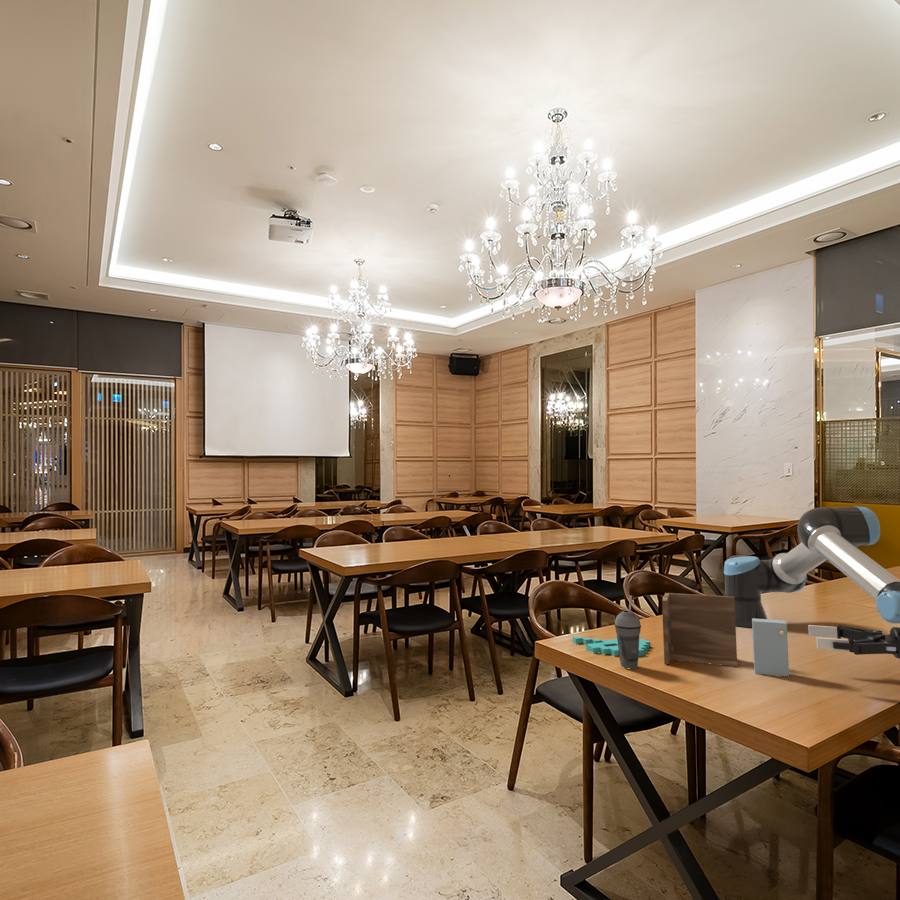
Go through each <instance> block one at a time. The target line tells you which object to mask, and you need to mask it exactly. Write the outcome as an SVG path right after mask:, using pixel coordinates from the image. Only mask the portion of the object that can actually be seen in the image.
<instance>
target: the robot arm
mask: <svg viewBox="0 0 900 900" xmlns="http://www.w3.org/2000/svg"><path fill="white" fill-rule="evenodd" d="M796 528H797V535H798V537H799V539H800V541H801V542H800V543H799V544H797V545H796V546H795V547H793V548H792V549H791V550H790V551H788V552H781V553H778V554H776V555H775V556H774V557H773V558H772V559H761V560H760V558H759V557H758V556H752V555H746V556H743V555H742V556H741V555H740V556H733V557H730V558H727V559H726V560H725V561H724V566H723V576H724V595H725V596H730V597H734V600H735V624H736V627H740V626H741V627H742V628H752V618H755V619H768V616H767V614H766V611H765V608H764V607H763V603H762V594H763V593H765V594H766V593H772V594H773V593H794V592H799V591H801V590H802V589H803V588H804V587H805V586H806V582H807V581H808V573H810V572H811V571H812V570H814V569H815V568H817V567H819V566H820V565H821V564H823V563H824V562H826V561H828V562H829V563H831V564H832V565H833V566H834V567H835V568H837V569H838V570H839V571H840V572H841V573H843V575H844V576H846V577H847V578H848V579H850V580H851V581H852V582H853V583H854V584H855V585H857V586H858V587H859V588H861V589H862V590H863V591H864V592H865V594H867V595H869V596H870V597H871V598H872V599H873V600H874V601H875V603H876V604H875V605H876V609H877V612H878V613H879V616H880V617H881V618H882V619H883V620H884V621H885V622H888V623H891V624H900V579H899V578H898V577H896V576H894V575H893V573H891V572H889V571H888V570H887V569H885V567H883V566H882V565H880V564H879V563H878V562H876V561H875V560H874V559H873V558H871V557H870V556H868V555H867V554H866V553H865V552H863V551H862V550H860V549H859V547H860V546H870V545H874V544H876V543H877V542H878V541H879V539H880V536H881V524H880V521H879V519H878V517H877V515H876V513H875V512H874V511H872V510H871V509H870V508H868V507H865V506H857V505H855V506H846V507H845V506H843V507H842V506H841V507H840V506H838V507H835V506H834V507H830V506H829V507H815V508H812V509H809V510H807V511H806V512H804V513H803V514H802V515H801V517H800V518H799V521H798V522H797V527H796ZM741 627H740V628H741ZM807 629H808V636H810V637H816V648H817V650H829V651H840V652H842V651H843V652H849V653H853V654H854V655H857V656H858V655H861V656H862V655H885V654H887V655H893V657H895V659H900V627H897V626H893V627H891V628H890V630H889V634H884V633H883V631H882V630H880V629H879V630H875V629H874V630H873V629H868V628H867V629H866V628H862V627H861V628H860V627H855V626H854V627H853V626H847V625H841V624H838V625H837V626H828V625H827V626H826V625H813V624H808V627H807Z"/></svg>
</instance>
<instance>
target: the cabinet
mask: <svg viewBox="0 0 900 900" xmlns="http://www.w3.org/2000/svg"><path fill="white" fill-rule="evenodd" d="M661 605H662V606H661V609H662V612H661V613H662V633H663V634H662V635H663V660H664V663H663V664H669V665H670V662H671V661H674V660H681V661H680V662H684V661H691V662H690V663H694V662H700V663H699V664H704V663H711V664H710V665H713V664H721V665H720V666H723V665H731V666H730V667H733V666H738V667H739V664H738V662H739V661H738V651H737V650H738V649H737V626H736V624H735V600H734V597H730V596H724V595H713V594H711V595H710V594H709V595H707V594H695V593H694V594H691V593H690V594H689V593H675V592H664V595H663V598H662V601H661Z"/></svg>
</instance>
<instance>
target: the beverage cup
mask: <svg viewBox="0 0 900 900" xmlns="http://www.w3.org/2000/svg"><path fill="white" fill-rule="evenodd" d="M632 599H633V595H629V605H628V610H622V611H620V612H619V613H618V614H617V615H616V617H615V620H614V628H615V632H616V637H617V640H618V648H619V656H618V657H619V662H620V667H621V666H622V667H624V668H630V669H629V670H635V669H634V668H637V669H638V663H639V656H638V653H639V639H640V634H641V629H642V625H641V620H640V619H639V616H638V615H637V614H636V613H635V612H633V611H632ZM622 667H621V668H622ZM624 668H623V669H624Z"/></svg>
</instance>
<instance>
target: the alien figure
mask: <svg viewBox="0 0 900 900" xmlns="http://www.w3.org/2000/svg"><path fill="white" fill-rule="evenodd" d="M573 642H574V643H573ZM572 643H573V644H575V643H576V645H578V644H577V643H583V644H582V645H584V644H585V645H584V646H585V648H586V649H587V650H586V649H585V650H586V651H588V650H589V651H591V652H593V653H596V654H601V653H602V654H601V655H603V654H612V655H614V656H615V657H618V656H617V655H619V648H618V640H617V636H616V638H613V639H603V640H602V639H599V638H590V637H582V636H572ZM651 643H652V642H651V641H649V640H646V639H645V638H639V653H638V657H643V656H642V655H645V654H647V653H646V652H648V651H649V650H650V648H649V647H651V645H652V644H651ZM589 651H588V652H589ZM591 652H590V653H591ZM598 652H600V653H598ZM593 653H592V654H593ZM612 655H611V656H612ZM614 656H613V657H614Z"/></svg>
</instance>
